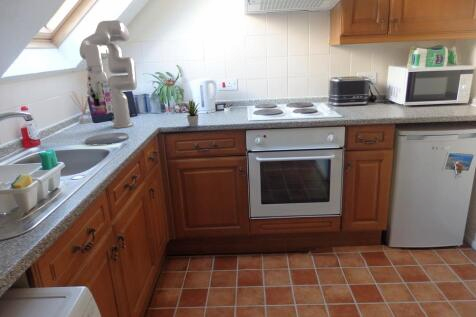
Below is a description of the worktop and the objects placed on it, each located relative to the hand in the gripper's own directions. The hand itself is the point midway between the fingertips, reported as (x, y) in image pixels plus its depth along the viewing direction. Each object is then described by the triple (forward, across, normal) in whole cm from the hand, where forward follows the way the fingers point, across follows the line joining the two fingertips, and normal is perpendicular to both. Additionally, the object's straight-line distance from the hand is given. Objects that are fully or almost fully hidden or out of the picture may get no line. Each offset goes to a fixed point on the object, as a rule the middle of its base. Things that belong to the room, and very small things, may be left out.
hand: (101, 105), depth 187 cm
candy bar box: (+5, 0, 0) cm, 5 cm away
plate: (+19, 0, 0) cm, 19 cm away
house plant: (+19, +44, -25) cm, 54 cm away
